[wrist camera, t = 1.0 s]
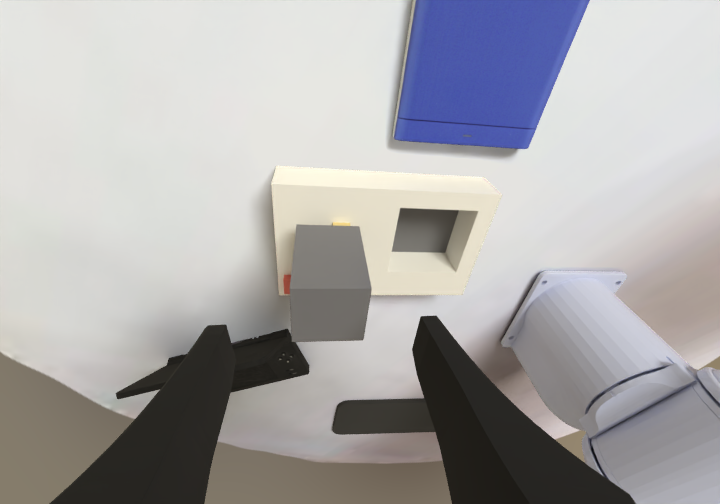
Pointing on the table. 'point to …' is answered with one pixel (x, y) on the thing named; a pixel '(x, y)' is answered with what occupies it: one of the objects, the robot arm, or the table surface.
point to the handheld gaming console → (241, 364)
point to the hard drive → (482, 69)
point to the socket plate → (390, 223)
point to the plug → (329, 284)
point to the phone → (382, 416)
